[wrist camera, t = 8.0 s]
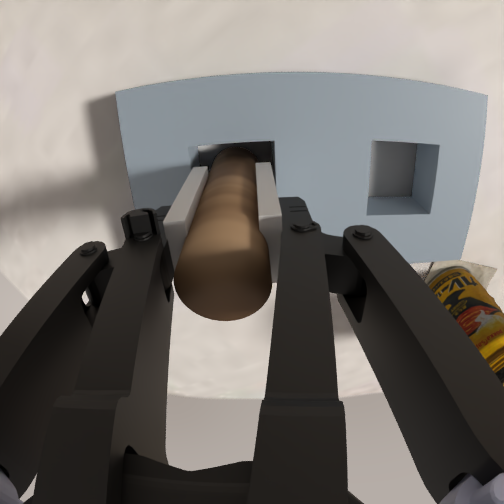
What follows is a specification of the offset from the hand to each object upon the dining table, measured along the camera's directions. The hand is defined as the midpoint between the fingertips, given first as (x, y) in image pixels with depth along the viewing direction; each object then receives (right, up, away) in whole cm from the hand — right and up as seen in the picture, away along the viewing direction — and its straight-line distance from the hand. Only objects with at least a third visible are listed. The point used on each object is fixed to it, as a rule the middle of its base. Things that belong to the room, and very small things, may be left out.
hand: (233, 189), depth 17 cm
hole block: (+5, +2, +3) cm, 6 cm away
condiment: (+20, -7, +9) cm, 23 cm away
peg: (0, +2, +3) cm, 4 cm away
